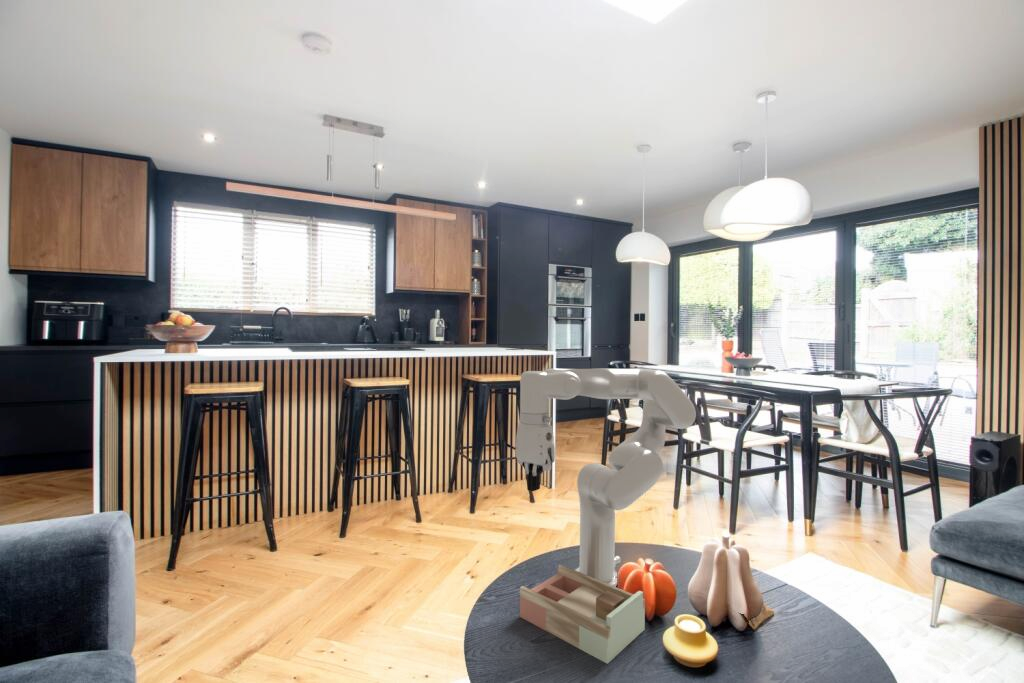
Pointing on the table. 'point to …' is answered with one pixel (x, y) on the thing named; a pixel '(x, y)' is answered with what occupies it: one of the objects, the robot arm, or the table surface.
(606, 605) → the walnut block
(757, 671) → the table surface
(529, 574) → the table surface
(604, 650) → the box
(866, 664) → the table surface
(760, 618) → the shard
